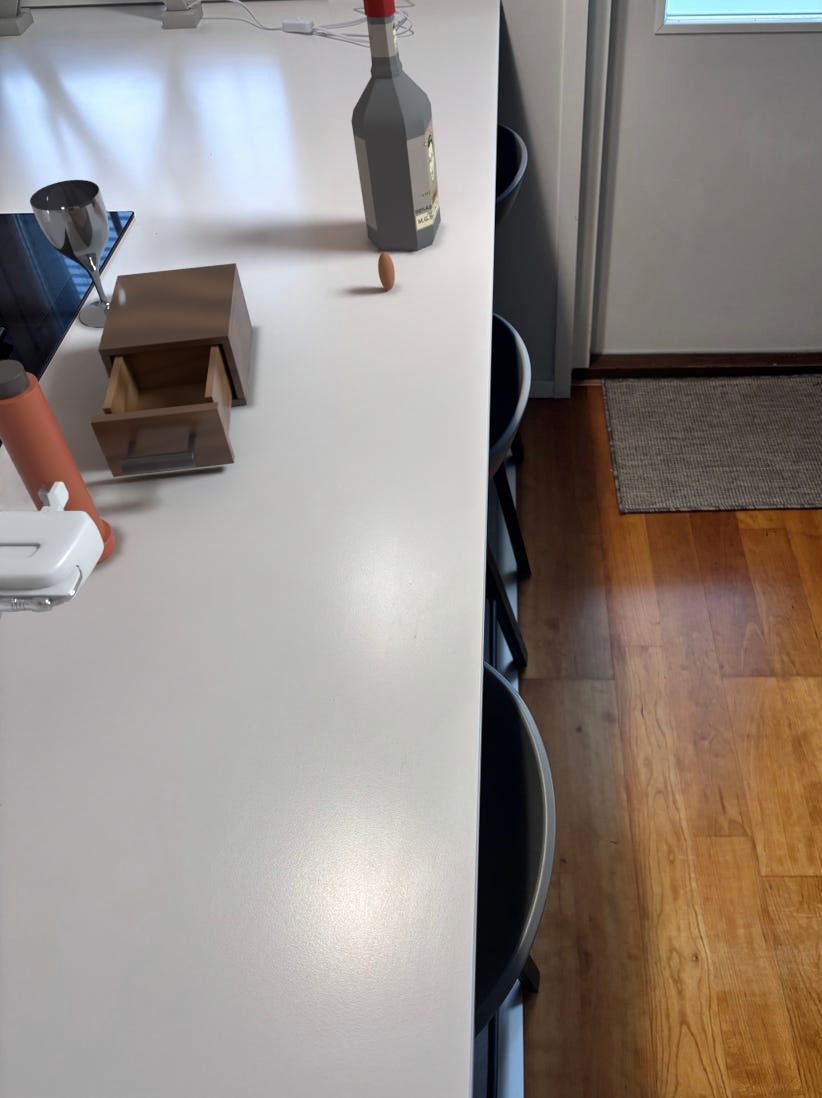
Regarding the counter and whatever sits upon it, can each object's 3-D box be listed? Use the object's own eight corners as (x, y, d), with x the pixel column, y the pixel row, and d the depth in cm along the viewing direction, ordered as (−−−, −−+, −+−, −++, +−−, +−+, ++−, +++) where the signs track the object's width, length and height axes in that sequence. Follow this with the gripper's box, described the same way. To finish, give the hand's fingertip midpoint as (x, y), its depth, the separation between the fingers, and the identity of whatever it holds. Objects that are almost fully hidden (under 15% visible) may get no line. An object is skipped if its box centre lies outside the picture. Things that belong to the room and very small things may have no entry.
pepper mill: (51, 572, 94) (-44, 396, 79) (61, 531, 98) (-28, 356, 83) (112, 565, 94) (29, 388, 79) (119, 525, 98) (42, 348, 83)
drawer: (232, 491, 99) (214, 435, 94) (107, 505, 99) (82, 450, 94) (241, 383, 112) (226, 329, 107) (130, 396, 111) (110, 342, 106)
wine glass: (152, 302, 127) (113, 185, 115) (112, 333, 122) (68, 215, 111) (103, 291, 129) (61, 175, 118) (63, 322, 125) (15, 204, 113)
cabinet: (247, 404, 111) (228, 335, 104) (124, 418, 110) (97, 349, 103) (253, 330, 121) (235, 262, 114) (140, 342, 120) (117, 275, 114)
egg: (394, 294, 125) (389, 256, 121) (379, 293, 125) (373, 255, 121) (398, 286, 126) (393, 248, 122) (383, 285, 126) (378, 248, 123)
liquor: (366, 251, 132) (328, -5, 110) (379, 219, 138) (346, -30, 116) (432, 252, 131) (408, -6, 109) (443, 220, 137) (422, -32, 115)
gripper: (50, 579, 69) (111, 456, 78) (-222, 579, 71) (-132, 458, 80) (83, 638, 74) (136, 516, 83) (-173, 637, 76) (-94, 517, 85)
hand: (3, 488), depth 81 cm, fingers open, 8 cm apart
